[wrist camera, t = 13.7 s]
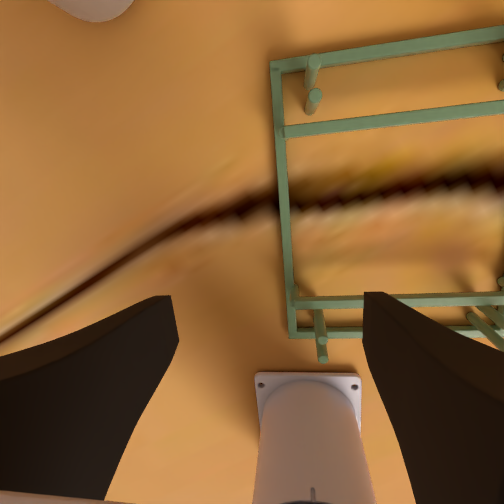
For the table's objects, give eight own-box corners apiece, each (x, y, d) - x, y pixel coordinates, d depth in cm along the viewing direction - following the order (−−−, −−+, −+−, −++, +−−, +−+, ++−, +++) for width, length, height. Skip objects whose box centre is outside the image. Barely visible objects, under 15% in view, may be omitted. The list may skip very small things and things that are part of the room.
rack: (503, 332, 20) (560, 381, 15) (289, 334, 22) (288, 377, 18) (561, 19, 14) (674, -38, 10) (270, 64, 16) (261, 32, 12)
